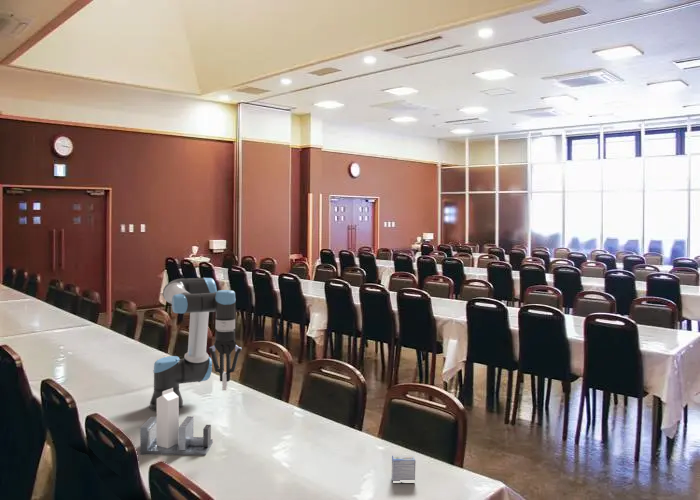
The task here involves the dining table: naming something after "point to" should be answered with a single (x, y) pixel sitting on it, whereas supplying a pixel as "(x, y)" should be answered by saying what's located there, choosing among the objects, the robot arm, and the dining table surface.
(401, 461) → the medicine box
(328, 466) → the dining table surface
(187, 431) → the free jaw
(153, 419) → the vise base
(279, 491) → the dining table surface
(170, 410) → the milk
